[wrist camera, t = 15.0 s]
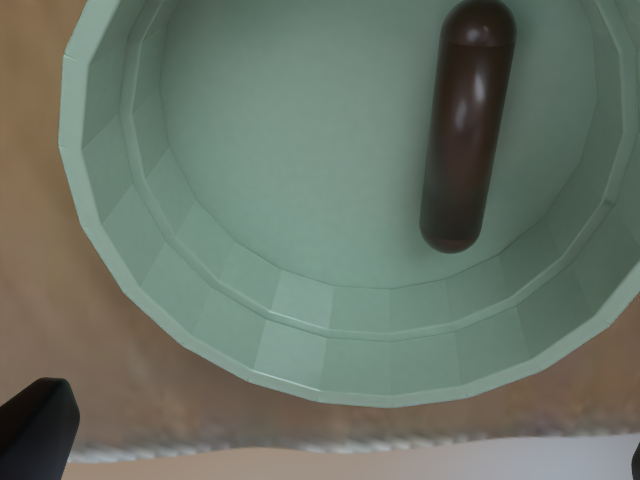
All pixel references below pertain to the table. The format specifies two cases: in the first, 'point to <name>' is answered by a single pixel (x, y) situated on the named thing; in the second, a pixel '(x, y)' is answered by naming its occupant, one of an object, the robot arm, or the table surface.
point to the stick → (465, 121)
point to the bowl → (353, 189)
